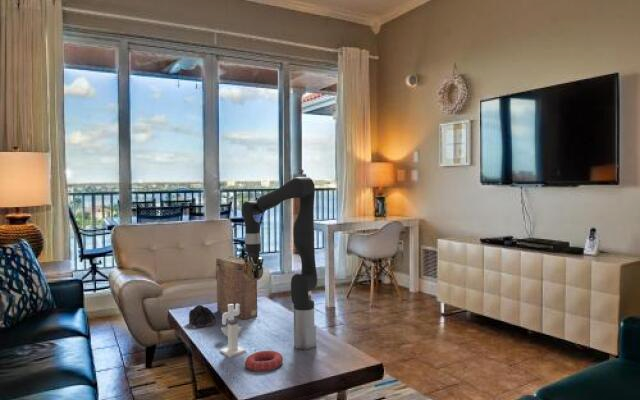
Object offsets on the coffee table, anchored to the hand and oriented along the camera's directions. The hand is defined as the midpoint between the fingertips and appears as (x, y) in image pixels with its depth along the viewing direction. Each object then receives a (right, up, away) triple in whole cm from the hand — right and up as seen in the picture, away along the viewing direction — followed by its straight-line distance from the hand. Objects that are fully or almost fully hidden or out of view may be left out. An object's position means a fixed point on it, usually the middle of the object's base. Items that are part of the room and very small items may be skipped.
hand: (253, 277), depth 225 cm
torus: (+9, -30, -36) cm, 48 cm away
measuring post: (-6, -28, -23) cm, 37 cm away
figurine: (-11, -27, -2) cm, 30 cm away
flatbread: (0, -2, 0) cm, 2 cm away
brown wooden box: (-14, -26, +33) cm, 44 cm away
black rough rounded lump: (-29, -27, +16) cm, 43 cm away
